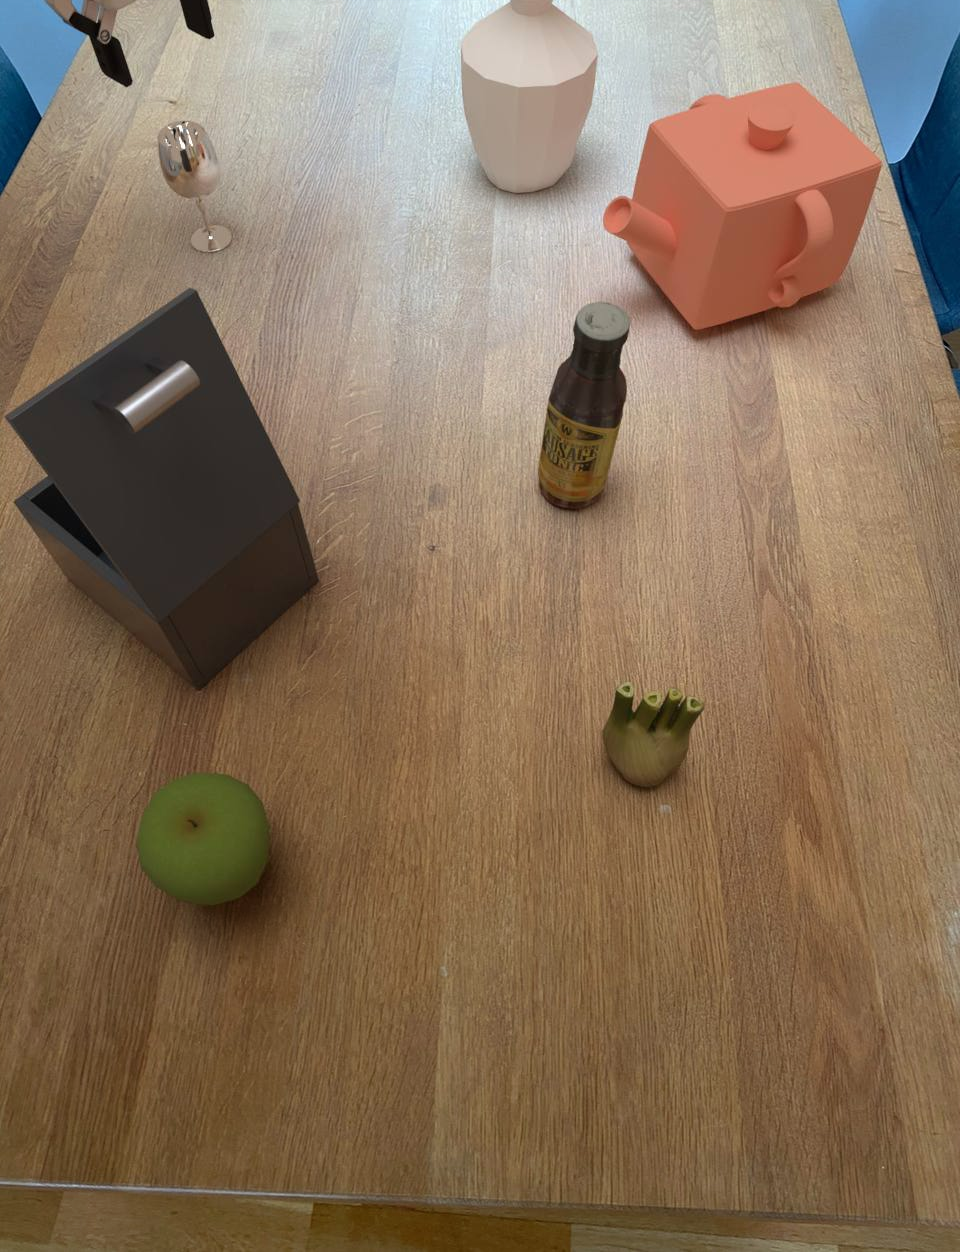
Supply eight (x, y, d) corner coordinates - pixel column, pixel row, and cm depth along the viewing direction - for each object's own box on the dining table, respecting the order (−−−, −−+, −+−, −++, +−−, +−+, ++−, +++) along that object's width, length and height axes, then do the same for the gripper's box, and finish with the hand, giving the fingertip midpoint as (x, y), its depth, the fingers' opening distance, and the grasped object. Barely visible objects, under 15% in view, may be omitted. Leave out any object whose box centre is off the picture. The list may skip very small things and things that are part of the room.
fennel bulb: (589, 759, 73) (608, 692, 62) (627, 715, 75) (651, 642, 64) (651, 806, 71) (680, 745, 60) (688, 760, 73) (723, 692, 62)
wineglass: (207, 264, 101) (176, 160, 91) (173, 239, 103) (139, 135, 92) (248, 238, 103) (223, 133, 93) (215, 214, 105) (186, 110, 95)
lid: (3, 416, 53) (46, 441, 50) (189, 287, 58) (238, 303, 55) (153, 618, 66) (194, 647, 63) (294, 497, 71) (338, 519, 68)
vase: (556, 125, 113) (574, -121, 92) (604, 196, 107) (636, -51, 85) (444, 150, 111) (436, -96, 89) (487, 224, 104) (489, -23, 83)
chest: (67, 578, 81) (12, 501, 71) (188, 481, 86) (153, 397, 77) (198, 691, 76) (158, 623, 66) (319, 580, 81) (298, 503, 71)
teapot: (646, 393, 92) (681, 236, 76) (544, 252, 102) (557, 88, 86) (859, 320, 97) (931, 159, 81) (741, 192, 107) (786, 28, 92)
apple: (301, 905, 67) (271, 860, 57) (184, 946, 66) (132, 907, 56) (273, 796, 71) (240, 735, 61) (162, 832, 70) (109, 776, 60)
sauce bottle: (523, 493, 86) (535, 323, 68) (560, 449, 88) (581, 275, 71) (585, 526, 84) (613, 361, 67) (620, 481, 86) (656, 310, 69)
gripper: (149, -226, 75) (204, 2, 90) (-34, -148, 69) (59, 84, 84) (212, -200, 73) (258, 30, 88) (29, -117, 67) (113, 116, 82)
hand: (161, 56), depth 86 cm, fingers open, 9 cm apart
